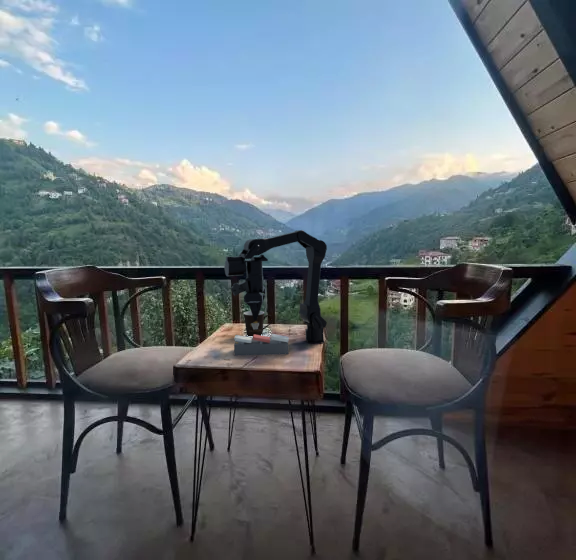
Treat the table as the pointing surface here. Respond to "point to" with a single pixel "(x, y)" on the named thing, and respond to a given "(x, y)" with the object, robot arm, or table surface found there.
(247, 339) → the white rectangular block
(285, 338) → the block
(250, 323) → the coffee mug
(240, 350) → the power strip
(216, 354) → the table surface
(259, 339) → the red block
